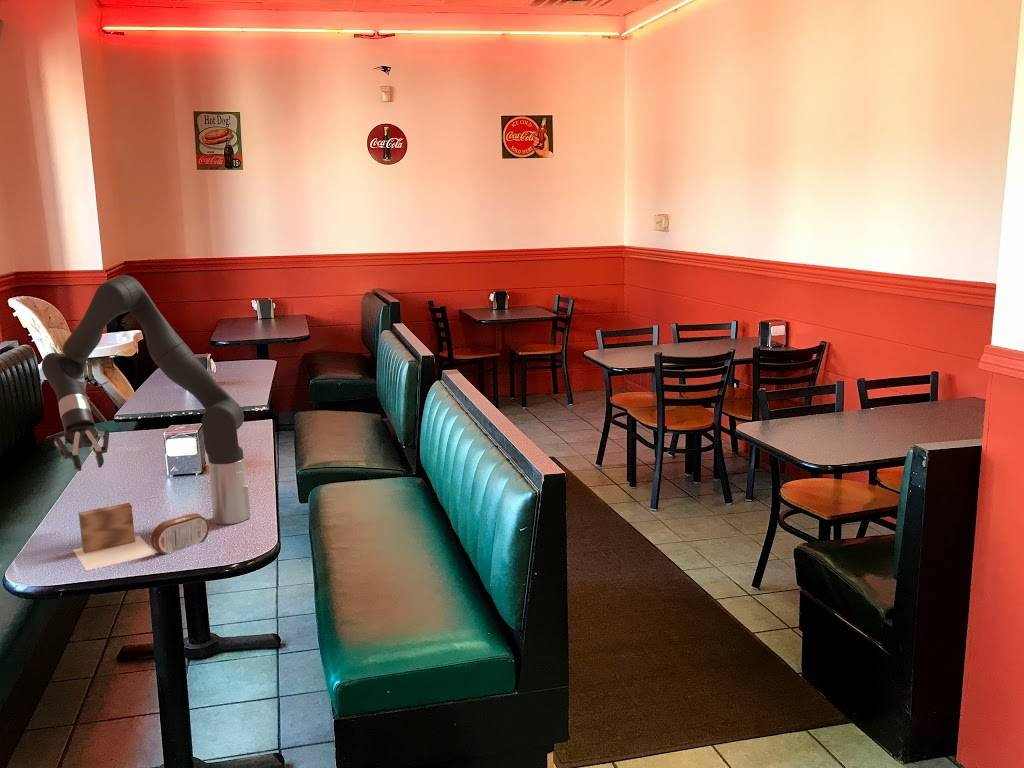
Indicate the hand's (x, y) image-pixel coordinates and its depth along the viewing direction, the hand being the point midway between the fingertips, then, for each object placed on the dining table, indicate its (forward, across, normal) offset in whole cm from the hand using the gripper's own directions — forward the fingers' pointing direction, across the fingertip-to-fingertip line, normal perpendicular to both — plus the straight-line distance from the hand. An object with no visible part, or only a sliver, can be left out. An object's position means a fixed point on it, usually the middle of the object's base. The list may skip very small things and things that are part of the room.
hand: (90, 467), depth 235 cm
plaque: (+22, 0, +2) cm, 22 cm away
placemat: (+26, 0, -1) cm, 26 cm away
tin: (+31, +15, -5) cm, 35 cm away
